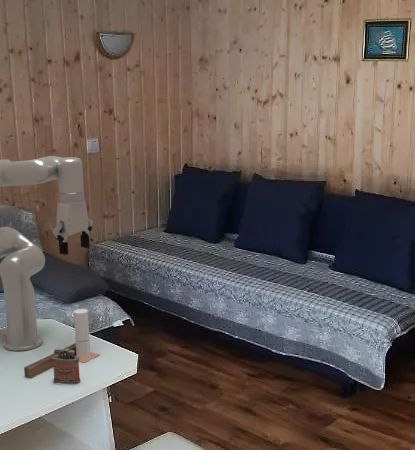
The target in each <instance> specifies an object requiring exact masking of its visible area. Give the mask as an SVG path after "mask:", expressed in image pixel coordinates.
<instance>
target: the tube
mask: <svg viewBox="0 0 415 450" xmlns="http://www.w3.org/2000/svg"><path fill="white" fill-rule="evenodd" d="M88 311H89V310H88V309H87V308H78V309H75V310H74V311H73V322H74V336H75V343H76V356H77V357H79V358H80V359H84V358H88V357H90V352H91V348H90V347H91V346H90V330H89V329H90V328H89V327H90V326H89V325H90V324H89V312H88Z"/></svg>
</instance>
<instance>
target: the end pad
mask: <svg viewBox="0 0 415 450" xmlns="http://www.w3.org/2000/svg"><path fill="white" fill-rule="evenodd" d="M99 356H100V354H99V353H95V352H91V351H90V357H88V358H84V359H80V358H79V363H84V364H86V363H88V362H90V361H91V360H93V359H95V358H97V357H99Z"/></svg>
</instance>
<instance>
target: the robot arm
mask: <svg viewBox="0 0 415 450" xmlns="http://www.w3.org/2000/svg"><path fill="white" fill-rule="evenodd" d="M54 180H57V181H58V196H59V197H58V198H59V202H58V203H57V207H56V226H55V227H54V228H53V229H52V230H51V231H52V234H53V236H54V238H55V240H56V241H57V242H58V248H59V249H58V250H59V251H58V252H59V254H60V255H65V256H67V255H69V243H68V238H69V236H72V235H76V234H80V238H79V239H80V247H81V248H84V249H85V248H86V249H90V245H91V244H90V236H91V231H92V230H93V224H94V220H93V219H91V218H89V215H88V208H87V204H86V200H85V195H86V194H85V191H84V173H83V161H82V160H81V158H79V157H75V156H74V157H71V156H69V157H67V156H66V157H61V156H56V155H48V156H42V157H38V158H35V159H29V160H19V161H16V160H15V161H12V160H10V159H8V158H7V159H0V188H1V187H2V188H3V187H19V186H20V187H21V186H22V187H23V186H31V185H40V184H44V183H49V182H51V181H54ZM2 258H3V259H2ZM0 259H2V260H1V262H0V278H1V282H2V287H3V295H4V303H5V317H6V318H5V319H6V327H5V328H4V330H2V331H1V335H3V336H5V337H6V339H5V340H4V341H3V348H5V349H6V350H9V351H15V352H17V351H18V352H19V351H20V352H21V351H28V350H33V349H35V348H38V347H39V346H41V345H42V344H43V343H44V341H43V340H44V339H43V337H42V336H41V335H38V325H37V324H38V323H37V310H36V308H37V307H36V298H35V297H36V296H35V288H34V286H33V283H32V282H31V277H32V276H33V275H36V274H37V273H39V272H40V271H41V270H43V268H44V267H45V263H46V256H45V254H44V253H43V251H42V250H41V249H40V248H39V247H38V246H37V245H36V244H35V243H33V241H31V240H30V239H28V238H27V237H26V236H25V235H24V234H22V233H21V232H20V231H18V230H16V229H15V228H13V227H9V226H2V227H1V226H0Z"/></svg>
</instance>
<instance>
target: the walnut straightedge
mask: <svg viewBox="0 0 415 450" xmlns="http://www.w3.org/2000/svg"><path fill="white" fill-rule="evenodd" d="M66 348H68V349H69V350H74V351H75V354H74V356H76V342H73V343H72V344H70V345H68V346H65V347H64V348H62V349H63V350H65V349H66ZM55 355H59V354H54V352H53V353H51V354H49V355H47V356H45V357H43V358H41V359H38V360H36V361H35V362H31V363H30V364H28V365H26V366H24V367H23V370H24V377H25V378H27V379H33V378H35V377H36V376H38V375H40V374H43V373H44V372H47V371H48V370H50V369H54V368H53V360H52V357H53V356H55ZM61 355H62V354H61Z"/></svg>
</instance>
